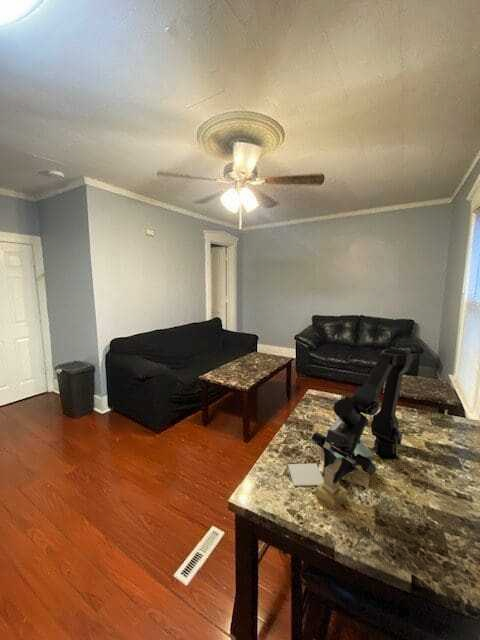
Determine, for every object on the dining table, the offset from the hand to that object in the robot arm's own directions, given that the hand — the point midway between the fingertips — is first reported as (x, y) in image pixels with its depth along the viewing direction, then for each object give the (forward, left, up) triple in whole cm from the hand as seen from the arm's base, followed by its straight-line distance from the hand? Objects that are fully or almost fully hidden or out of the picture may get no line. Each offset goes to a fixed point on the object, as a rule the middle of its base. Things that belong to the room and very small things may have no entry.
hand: (328, 479), depth 80 cm
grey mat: (+4, -11, -7) cm, 13 cm away
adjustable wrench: (-16, -40, -7) cm, 44 cm away
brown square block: (-1, -1, -7) cm, 7 cm away
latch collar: (-1, -1, -7) cm, 7 cm away
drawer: (-11, -16, -7) cm, 20 cm away
